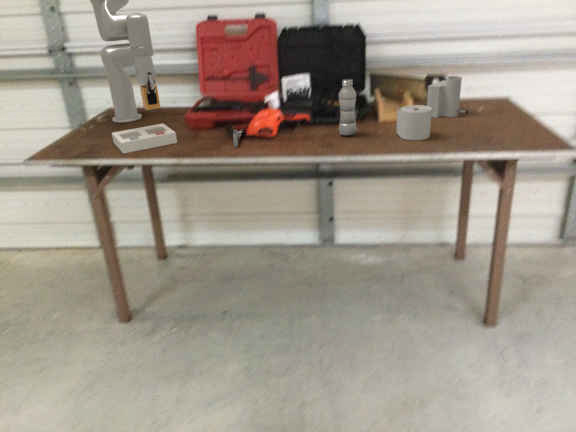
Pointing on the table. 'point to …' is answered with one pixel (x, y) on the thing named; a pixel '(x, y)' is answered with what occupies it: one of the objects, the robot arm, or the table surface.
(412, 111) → the toilet tissue
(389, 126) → the table surface
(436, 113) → the grey cylinder cluster
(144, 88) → the plug
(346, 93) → the plastic bottle
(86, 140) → the table surface
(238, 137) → the caliper
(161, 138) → the socket board
